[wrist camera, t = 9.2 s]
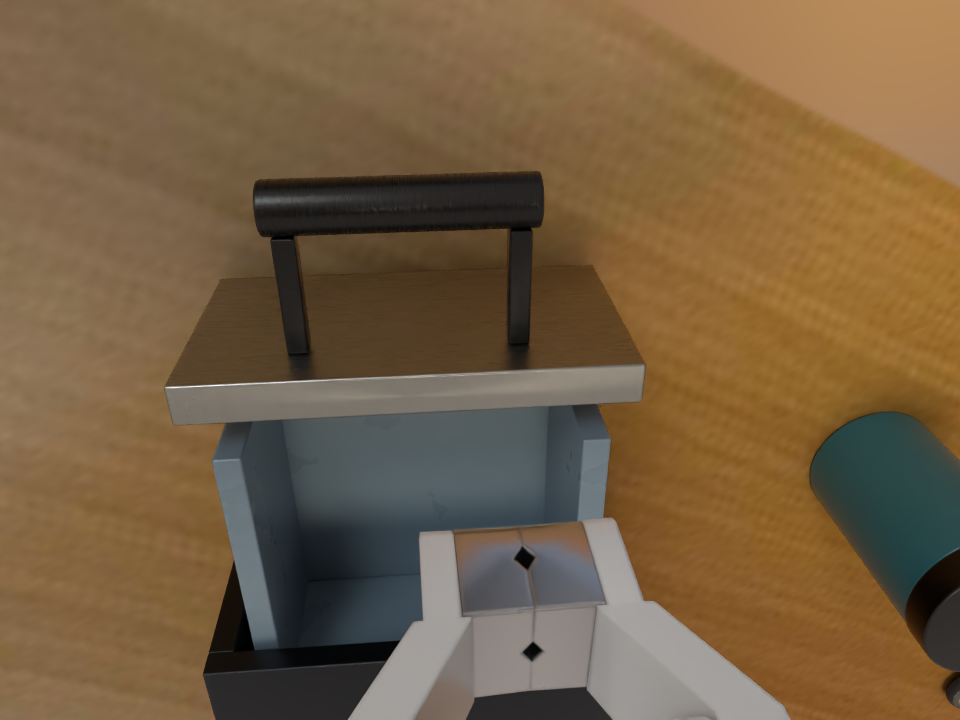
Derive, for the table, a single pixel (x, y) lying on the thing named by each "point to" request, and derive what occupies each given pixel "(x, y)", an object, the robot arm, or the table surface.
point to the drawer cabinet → (337, 679)
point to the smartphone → (954, 692)
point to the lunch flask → (900, 519)
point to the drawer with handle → (396, 399)
